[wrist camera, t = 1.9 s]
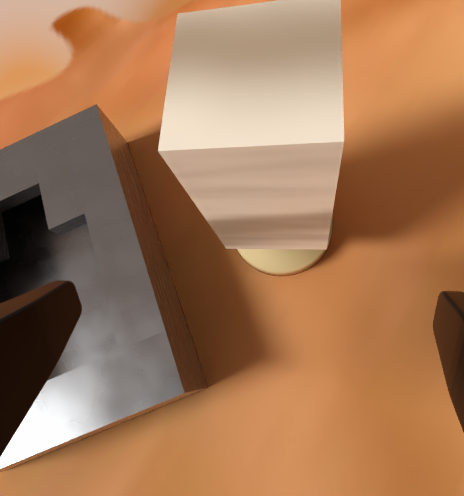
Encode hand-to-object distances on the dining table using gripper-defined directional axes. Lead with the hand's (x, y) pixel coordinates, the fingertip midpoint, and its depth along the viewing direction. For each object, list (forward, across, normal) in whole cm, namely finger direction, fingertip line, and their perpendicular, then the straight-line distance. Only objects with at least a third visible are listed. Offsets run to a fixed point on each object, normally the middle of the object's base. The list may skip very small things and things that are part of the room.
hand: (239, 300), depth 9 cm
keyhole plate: (+10, +14, +7) cm, 19 cm away
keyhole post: (+14, 0, +4) cm, 14 cm away
